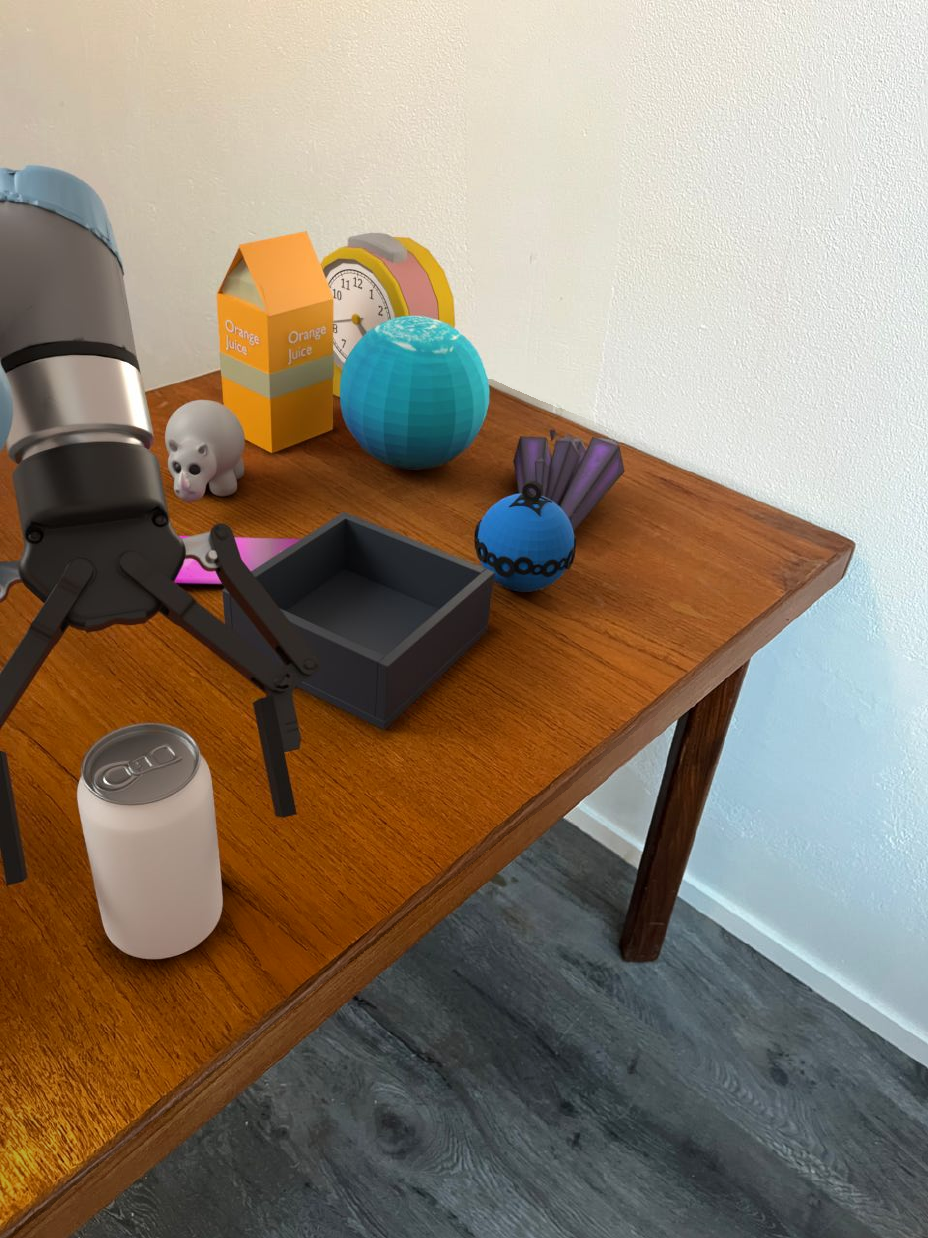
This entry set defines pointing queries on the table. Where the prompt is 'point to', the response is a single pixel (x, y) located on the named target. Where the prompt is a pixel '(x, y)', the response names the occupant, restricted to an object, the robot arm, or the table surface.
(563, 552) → the ornament
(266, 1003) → the table surface
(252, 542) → the smartphone
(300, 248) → the orange juice
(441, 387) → the decorative orb
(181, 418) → the chubby cartoon animal
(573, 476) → the crystal
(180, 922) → the can
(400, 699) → the tray
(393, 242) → the alarm clock
